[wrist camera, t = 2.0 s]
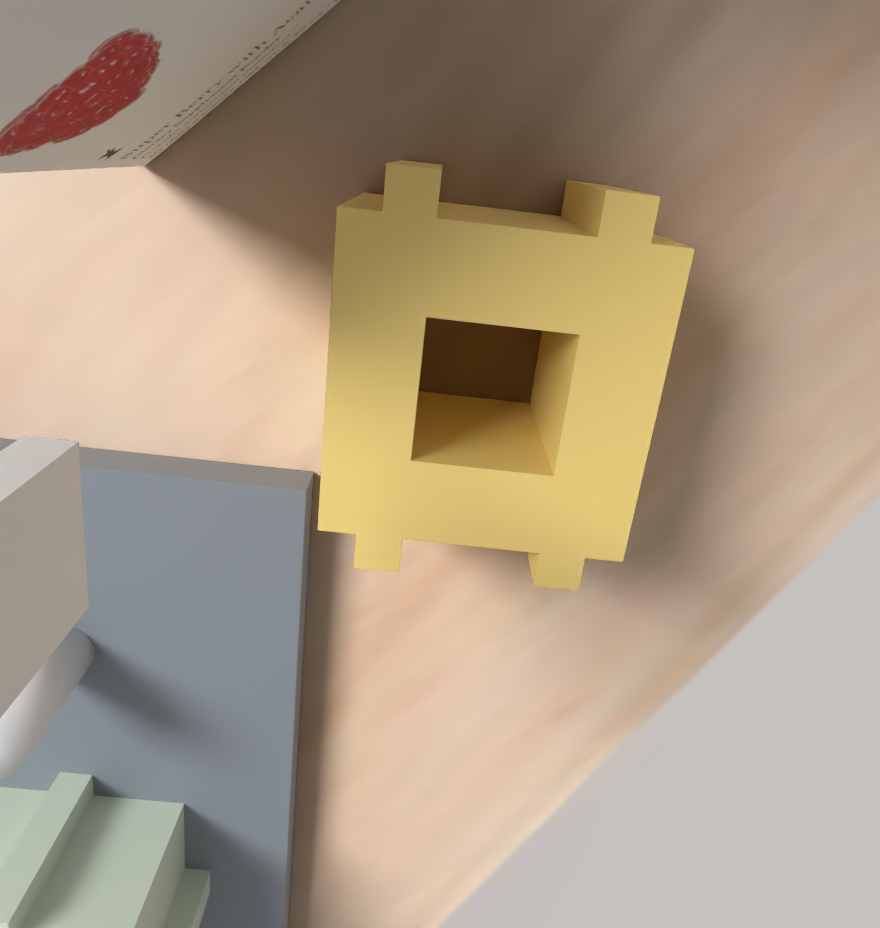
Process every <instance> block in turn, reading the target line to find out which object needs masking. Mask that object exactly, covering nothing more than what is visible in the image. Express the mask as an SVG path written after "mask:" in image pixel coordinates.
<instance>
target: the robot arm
mask: <svg viewBox="0 0 880 928" xmlns="http://www.w3.org/2000/svg"><path fill="white" fill-rule="evenodd" d="M88 608H89V602H88V586H87V570H86V553H85V537H84V521H83V505H82V489H81V473H80V457H79V441H69V440H60V439H51V438H41V437H32V436H23V437H21V438H20V439H18V440H17V441H15V442H14V443H12V444H11V445H9V446H8V447H6V448H4V449H3V450H1V451H0V718H1V717H2V716H3V714H4V713H5V712H6V711H7V709H8V708H9V707H10V706H11V704H12V703H13V702H14V701H15V699H16V698H17V697H18V696H19V694H20V693H21V692H22V691H23V689H24V688H25V687H26V686H27V684H28V683H29V682H30V681H31V679H32V678H33V677H34V676H35V674H36V673H37V672H38V670H39V669H40V668H41V667H42V665H43V664H44V663H45V662H46V660H47V659H48V658H49V657H50V655H51V654H52V653H53V652H54V650H55V649H56V648H57V647H58V645H59V644H60V643H61V642H62V640H63V639H64V638H65V637H66V635H67V634H68V633H69V632H70V630H71V629H72V628H73V627H74V625H75V624H76V623H77V622H78V620H79V619H80V618H81V616H82V615H83V614H84V613H85V611H86V610H87V609H88Z"/></svg>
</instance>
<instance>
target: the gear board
mask: <svg viewBox="0 0 880 928" xmlns="http://www.w3.org/2000/svg"><path fill="white" fill-rule="evenodd" d="M15 441H17V440H10V439H1V438H0V451H1V450H3V449H4V448H6V447H8V446H9V445H11V444H12V443H14V442H15ZM79 457H80V473H81V489H82V505H83V521H84V537H85V553H86V570H87V586H88V602H89V608H88V609H87V610H86V611H85V613H84V614H83V615H82V616H81V618H80V619H79V620H78V622H77V623H76V624H75V625H74V627H73V628H72V629H71V630H70V632H69V633H68V634H67V635H66V637H65V638H64V639H63V640H62V642H61V643H60V644H59V645H58V647H57V648H56V649H55V650H54V652H53V653H52V654H51V655H50V657H49V658H48V659H47V660H46V662H45V663H44V664H43V665H42V667H41V668H40V669H39V670H38V672H37V673H36V674H35V676H34V677H33V678H32V679H31V681H30V682H29V683H28V684H27V686H26V687H25V688H24V689H23V691H22V692H21V693H20V694H19V696H18V697H17V698H16V699H15V701H14V702H13V703H12V704H11V706H10V707H9V708H8V709H7V711H6V712H5V713H4V714H3V716H2V717H1V718H0V928H288V920H289V902H290V885H291V867H292V849H293V831H294V814H295V796H296V778H297V760H298V742H299V725H300V707H301V689H302V671H303V653H304V636H305V618H306V600H307V582H308V564H309V547H310V529H311V511H312V493H313V475H314V472H309V471H300V470H291V469H281V468H272V467H263V466H253V465H244V464H235V463H225V462H216V461H207V460H197V459H188V458H179V457H169V456H160V455H151V454H141V453H132V452H122V451H113V450H104V449H94V448H85V447H79Z"/></svg>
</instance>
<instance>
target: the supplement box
mask: <svg viewBox="0 0 880 928" xmlns="http://www.w3.org/2000/svg"><path fill="white" fill-rule="evenodd" d="M340 1H341V0H0V173H13V172H32V171H51V170H72V169H90V168H108V167H132V166H145V165H147V164H148V163H149V162H150V161H152V160H153V159H154V158H155V157H157V156H158V155H159V154H160V153H162V152H163V151H164V150H165V149H166V148H168V147H169V146H170V145H171V144H172V143H174V142H175V141H176V140H177V139H178V138H180V137H181V136H182V135H183V134H184V133H186V132H187V131H188V130H189V129H190V128H192V127H193V126H194V125H195V124H196V123H198V122H199V121H200V120H201V119H202V118H203V117H205V116H206V115H207V114H208V113H209V112H211V111H212V110H213V109H214V108H215V107H217V106H218V105H219V104H220V103H221V102H222V101H224V100H225V99H226V98H227V97H228V96H229V95H231V94H232V93H233V92H234V91H235V90H236V89H238V88H239V87H240V86H241V85H242V84H243V83H245V82H246V81H247V80H248V79H249V78H251V77H252V76H253V75H254V74H255V73H256V72H258V71H259V70H260V69H261V68H262V67H264V66H265V65H266V64H267V63H268V62H269V61H271V60H272V59H273V58H274V57H275V56H277V55H278V54H279V53H280V52H281V51H282V50H284V49H285V48H286V47H287V46H288V45H289V44H291V43H292V42H293V41H294V40H295V39H296V38H298V37H299V36H300V35H301V34H302V33H303V32H305V31H306V30H307V29H308V28H309V27H310V26H312V25H313V24H314V23H315V22H316V21H317V20H319V19H320V18H321V17H322V16H323V15H325V14H326V13H327V12H328V11H329V10H330V9H332V8H333V7H334V6H335V5H336V4H337V3H339V2H340Z"/></svg>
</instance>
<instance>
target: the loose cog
mask: <svg viewBox="0 0 880 928" xmlns="http://www.w3.org/2000/svg"><path fill="white" fill-rule="evenodd" d="M442 169H443V165H439V164H431V163H423V162H414V161H406V160H399V161H394V162H389V163H386V173H385V185H384V195H381V194H373V193H365V192H364V193H362V194H360V195H358V196H356V197H354V198H352V199H350V200H348V201H346V202H344V203H342V204H340V205H338V206H337V214H336V230H335V247H334V264H333V280H332V297H331V314H330V330H329V347H328V364H327V380H326V397H325V413H324V430H323V447H322V463H321V480H320V497H319V513H318V530H320V531H330V532H339V533H349V534H356V542H355V554H354V567H353V568H359V569H369V570H379V571H388V572H398V573H399V566H400V557H401V548H402V539H406V540H416V541H426V542H435V543H445V544H454V545H464V546H474V547H483V548H493V549H502V550H512V551H521V552H527V556H528V561H529V566H530V571H531V576H532V581H533V586H534V587H544V588H554V589H564V590H573V591H578V590H579V585H580V580H581V576H582V571H583V566H584V561H585V558H589V559H598V560H608V561H617V562H623V559H624V555H625V551H626V546H627V542H628V538H629V533H630V529H631V525H632V520H633V516H634V512H635V507H636V503H637V499H638V494H639V490H640V486H641V481H642V477H643V473H644V468H645V464H646V460H647V455H648V451H649V447H650V442H651V438H652V434H653V429H654V425H655V421H656V416H657V412H658V408H659V403H660V399H661V394H662V390H663V386H664V381H665V377H666V373H667V368H668V364H669V360H670V355H671V351H672V347H673V342H674V338H675V334H676V329H677V325H678V321H679V316H680V312H681V308H682V303H683V299H684V295H685V290H686V286H687V282H688V277H689V273H690V269H691V264H692V260H693V256H694V251H695V249H694V248H691V247H689V246H686V245H684V244H681V243H679V242H676V241H674V240H671V239H669V238H666V237H664V236H661V235H659V234H656V233H654V227H655V222H656V217H657V212H658V208H659V203H660V198H661V196H656V195H651V194H647V193H642V192H637V191H633V190H628V189H624V188H619V187H614V186H610V185H603V184H595V183H587V182H579V181H570V180H567V181H566V187H565V193H564V199H563V205H562V211H561V216H556V215H548V214H540V213H531V212H523V211H515V210H506V209H498V208H490V207H481V206H473V205H465V204H456V203H448V202H440V201H439V197H440V187H441V178H442ZM427 317H429V318H438V319H447V320H455V321H464V322H473V323H481V324H490V325H499V326H508V327H516V328H525V329H534V330H542V333H541V339H540V345H539V351H538V357H537V363H536V369H535V375H534V381H533V387H532V394H531V400H530V403H522V402H513V401H504V400H495V399H486V398H477V397H468V396H459V395H450V394H441V393H432V392H423V391H419V383H420V374H421V365H422V355H423V346H424V337H425V327H426V318H427Z"/></svg>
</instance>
